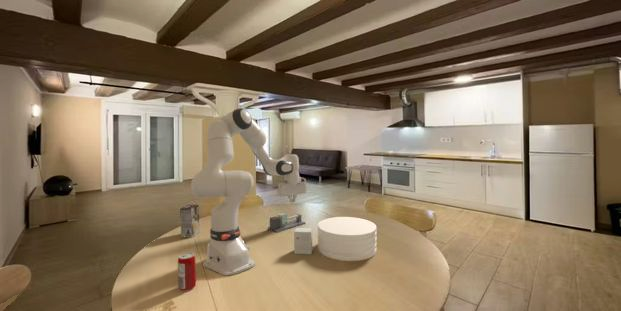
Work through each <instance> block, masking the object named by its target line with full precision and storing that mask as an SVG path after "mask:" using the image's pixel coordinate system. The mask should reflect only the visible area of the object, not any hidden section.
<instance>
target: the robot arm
mask: <svg viewBox="0 0 621 311" xmlns="http://www.w3.org/2000/svg"><path fill="white" fill-rule="evenodd" d="M238 134H239V136H240V137H241V138H242V140H243V141H244V142H245V143H246V144H247V145H248V147H249V148H250V149H251V151H252V153H253V154H254V156H255V157H256V158H257V160H258V161H259V162H260V164H261V166H262V169H263V172H264V173H265V174H266V175H268V176H280V177H282V176H284V180H281V181H279V182H278V183H277V193H276V194H277V196H278V197H279V198H284V197H285V198H286V197H287V198H288V200H289V203H290V204H291V203H292V204H293V203H296V199H297V196H298V195H303V194H306V193H307V183H306V182H307V179H306V178H304V177H301V176H300V173H299V172H300V162H299V160H300V159H299V156H298V155H297V154H296V153H285V154H284V156H282V157H281V158H279V159H274V158H271V157H270V156H269V154H268V153H267V151H266V149H265V148H264V146H265V145H266V142H267V135H266V133H265V132H264V131H263V130H262V128H261V127H260V125H258V124H257V122H256V121H255V120H254V119H253V118H252V116H251V114H250V112H249V111H248V110H246V109H245V108H242V107H241V108H236V109H234V110H232V111H230V112H228V113H225V114H223V115H222V116H220V117H219V118H218V119H215V120H213V121H211V122H209V124H208V126H207V137H206V142H207V144H206V145H207V159H206V162H205V165H204V166H203V168H202V169H201V170H200V171H198V173H196V174H195V175H194V176H193V177H192V180H191V183H190V188H191V191H192V193H193V194H194V196H196V197H197V198H206V199H207V198H208V199H211V198H218V197H219V198H221V197H225V198H224V200H223V201H222V202H221V203H219V204H217V205H216V206H214V207H213V208H212V210H211V211H210V212H211V213H210V221H211V222H210V223H211V224H210V225H211V226H210V227H211V228H210V231H209V234H210V236H209V237H210V240H209V242H208V244H207V246H206V247H207V248H206V249H207V250H206V261H204V262H203V267H205V268H207V269H210V270H212V271H214V272H216V273H219V274H221V275H223V276H231V275H236V274H239V273H242V272H245V271H247V270H249V269H251V268H253V267H254V266H255V265H256V262H255V260H254V259H253V258H252V257H251V256H250V252H249V251H250V246H249V245H246V243H245V240H243V238H242V236H241V230H240V227H239V224H238V222H239V209H240V207H241V203H242V201H243V200H244V198H245V197H246V196H247V195H248V194H249V193H251V191H252V190H253V188H254V185H255V180H254V176H253V175H252V174H251V173H250V172H249V171H247V170H246V171H245V170H240V169H239V170H237V169H236V170H235V169H234V170H222V168H223V167H225V166H226V165H229V164H231V162H232V161H233V160H234V158H235V151H234V143H233V142H234V141H233V136H236V135H238Z"/></svg>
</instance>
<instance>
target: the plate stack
mask: <svg viewBox="0 0 621 311" xmlns="http://www.w3.org/2000/svg"><path fill="white" fill-rule="evenodd" d="M377 233H378V232H377V225H376V224H375V223H374V222H372V221H370V220H367V219H365V218H360V217H353V216H352V217H351V216H335V217H328V218H324V219H322V220H321V221H319V222H318V223H317V250H318V252H319V253H320V254H322V255H323V256H324V257H327V258H329V259H333V260H337V261H343V262H354V261H355V262H357V261H364V260H368V259H369V258H372V257H373V256H375V255H376V254H377V238H378V237H377Z"/></svg>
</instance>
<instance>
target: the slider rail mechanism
mask: <svg viewBox="0 0 621 311" xmlns="http://www.w3.org/2000/svg"><path fill="white" fill-rule="evenodd" d="M280 224H281V219H280V218H279V217H278V216H271V217H269V226H268V227H267V229H268V230H270V231H273V232H275V233H279V232H283V231H286V229H287V230H290V229H293V228H297V227H299V226H303V224H304V225H306V222H305V221H302V214H299V213H298V214H296V215H293V216H289V217H288V216H287V224H285V225H280ZM296 226H297V227H296Z"/></svg>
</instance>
